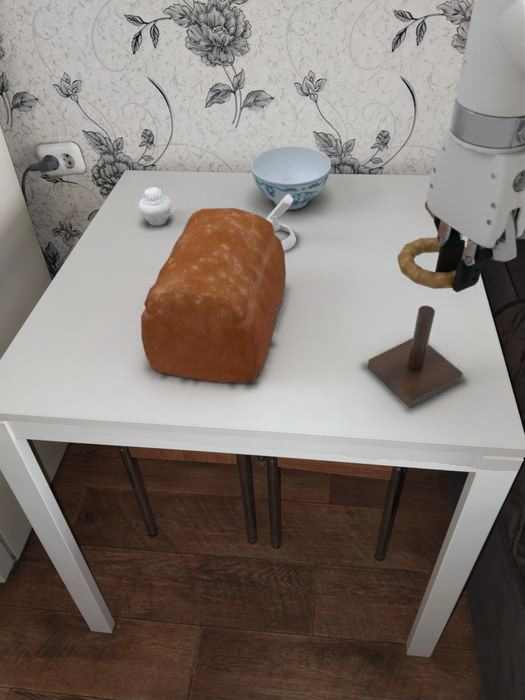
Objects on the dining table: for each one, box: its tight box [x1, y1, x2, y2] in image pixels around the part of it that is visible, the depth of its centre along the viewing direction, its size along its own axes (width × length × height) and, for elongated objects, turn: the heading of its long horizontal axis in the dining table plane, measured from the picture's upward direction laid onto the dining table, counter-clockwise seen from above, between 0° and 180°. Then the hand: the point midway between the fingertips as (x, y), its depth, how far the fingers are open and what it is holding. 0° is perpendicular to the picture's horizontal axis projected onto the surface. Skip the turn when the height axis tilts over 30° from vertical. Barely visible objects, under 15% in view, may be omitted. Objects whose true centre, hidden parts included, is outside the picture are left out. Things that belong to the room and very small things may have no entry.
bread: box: [140, 207, 287, 383], centre depth 85 cm, size 17×24×15 cm
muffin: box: [137, 186, 173, 227], centre depth 110 cm, size 6×6×7 cm
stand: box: [367, 305, 464, 409], centre depth 78 cm, size 9×9×12 cm
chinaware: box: [250, 145, 332, 210], centre depth 113 cm, size 15×15×8 cm
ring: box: [396, 236, 466, 290], centre depth 69 cm, size 9×9×2 cm
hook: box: [266, 194, 297, 252], centre depth 103 cm, size 8×12×7 cm
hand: (455, 279), depth 67 cm, fingers closed on ring, 2 cm apart
